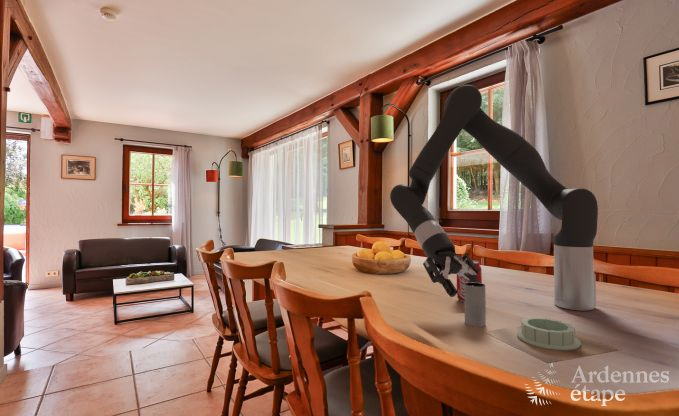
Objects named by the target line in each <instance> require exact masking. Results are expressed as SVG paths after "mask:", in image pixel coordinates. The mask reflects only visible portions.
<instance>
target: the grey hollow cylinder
mask: <svg viewBox="0 0 679 416" xmlns="http://www.w3.org/2000/svg"><path fill="white" fill-rule="evenodd" d="M486 299H487V298H486V284H485V283H483V282H482V283H477V282H467V283H465V303H464V324H466V325H468V326H470V327H476V328H477V327H479V328H481V327H485V326H486V324H487V323H486V320H487V319H486V318H487V317H486V315H487V311H486V309H487V307H486V306H487V305H486V302H487V301H486Z"/></svg>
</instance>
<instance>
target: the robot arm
mask: <svg viewBox="0 0 679 416" xmlns="http://www.w3.org/2000/svg"><path fill="white" fill-rule="evenodd" d="M480 91H481V90H479V89H478V88H477V86H474V85H471V84H463V85H460V86H458V87H456V88H454V89H453V91H451V92H450V94H449V95H448V96H447V97H446V100H445V101H444V103H443V104H444V105H443V110H444V112H443V116H442V118H441V120H440V121H439V123H438V125H437V127H436V128H435V131H434V132H433V134H431V136H430V137H429V139H428V141H427V142H426V143H425V144H424V146H423V147H422V148H421V150H420V152H419V154H418V155H417V157H416V158H415V160H414V162H413V164H412V165H411V168H410V169H409V171H408V177H409V178H410V179H411V183H410V185H407V184H396V185H394V186H393V188H392V189H391V191H390V194H389V199H390V202H391V204H392V206H393V208H394V209H395V210H396V212H397V213H398V214H399V215H400V216H401V217H402V218H403V219H404V221H405V222H406V223H407V224H408V226H409V228H410V229H411V232H412V233H413V235H414V236H415V239H416V241H417V243H418V244H419V246H420V248H421V250H422V251H423V252H424V255H425V256H426V259H425V260H424V262H422V266H423V267H424V269H425V270H426V272H427V275H428V277H429V278H430V280H431V282H432V283H433V284H436V283H439V284H440V285H441V286H442V287H443V289H444V290H445V292H446V293H447V294H448V295H449V297H450V298H453V297H456V296H457V287H455V285H454V284H453V282H452V280H451V279H450V278H449V275H457V274H458V275H459V276H463V277H465V278H466V279H468V280H469V282H477V283H481V282H480V281H479V280H478V278H477V277H476V275H477V274H478V273H479V272H480V270H479V269H478V268H477V266H476V265H475V264H474V262H473V261H472V260H473V259H471V257H470V256H469V255H468V254H467V253H464V254H463V255H462V256H459V255H458V254H457V252H456V246H455V244H454V243H453V241H452V240H451V238H450V237H449V236H448V234H447V233H446V231H445V230H444V228H443V227H442V226H441V225H440V223H438V221H437V220H436V219H435V217H434V216H433V214H432V213H431V211H430V210H429V209H427V208H426V207H425V206H423V204H424V203H425V200H426V197H427V194H428V192H429V189H430V184H431V182H432V180H433V178H434V177H435V176H436V174H437V172H438V171H439V168H440V167H441V165H442V163H443V161H444V160H445V159H446V156H447V155H448V152H449V151H450V149H451V148H452V146H453V144H454V143H455V140H457V138H458V136H459V135H460V134H461V132H462V131H464V132H466V133H467V134H468V135H470V136H471V137H472V138H473V139H474V140H476V142H478V144H479V145H481V147H482V148H483V149H485V151H486V152H487V153H489V155H490V156H491V157H492V158H493V159H494V160H495V161H496V162H497V163H498V164H500V165H501V166H502V167H503V168H504V169H505V170H506V171H507V172H508V173H509V174H511V175H512V176H513V177H514V178H515V179H517V181H518V182H519V183H521V184H522V185H523V186H524V187H525V188H527V189H528V190H529V192H530V193H532V195H534V196H535V197H536V198H537V200H539V202H540V203H541V204H542V205H543V207H544V208H545V209H546V210H547V211H548V212H549V213H550V214H551V216H553V217H554V218H556V219H557V220H559V221H560V220H561V227H560V230H559V231H558V232H557V233H555V234H554V235H553V287H554V288H553V289H554V290H553V291H554V292H553V293H554V294H553V297H554V302H553V304H554V305H555V306H557V307H558V308H562V309H567V310H572V311H585V312H586V311H592V310H593V311H594V309H595V308H597V285H596V283H597V279H596V276H597V275H596V273H595V272H594V240H595V238H596V236H597V232H598V214H599V208H598V206H599V205H598V201H597V197H596V196H595V194H594V193H593V192H592V191H591V190H589V189H587V188H582V187H577V188H576V187H575V188H568V187H566V186H564V185H563V184H561V182H560V181H558V180H557V179H556V178H554V177H553V176H552V174H551V173H550V172H549V171H548V168H547V167H546V165H545V162H544V160H543V158H542V155H541V154H540V153H539V151H538V150H537V149H536V148H535V147H534V146H533V145H532V144H531V143H530V142H529V141H527V140H526V139H525V137H523V136H522V135H520V134H519V133H518V132H517V131H516V132H515V131H514V130H513V129H511V128H509V127H507V126H505V125H503V124H501V123H500V122H497V121H495V120H494V119H493V118H491V117H490V116H489V115H488V114H487V113H486V112H485V111H484V110H483V109H482V108H481V107H482V104H483V97H482V93H481V92H480ZM461 266H462V267H463V269H462V270H461ZM471 268H473V270H474V271H473V270H471ZM460 270H461V271H460ZM465 272H468V273H469V275H468V274H466V273H465Z"/></svg>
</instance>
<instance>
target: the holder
mask: <svg viewBox="0 0 679 416" xmlns="http://www.w3.org/2000/svg"><path fill="white" fill-rule="evenodd" d="M520 323H521V325H520V326H521V329H519V330H518V331H517V337H518V338H519V339H520V340H521V341H523V342H524V343H527V344H529V345H532V346H535V347H539V348H543V349H548V350H555V351H573V350H577V349H579V348H580V346H581V343H580V340H579V339H577V338H576V337H575V333H576V328H575V327H574V326H573V325H571V324H570V323H568V322H566V321H562V320H558V319H554V318H547V317H525V318H523V319H522V320H521V322H520Z"/></svg>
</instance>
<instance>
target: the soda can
mask: <svg viewBox="0 0 679 416" xmlns="http://www.w3.org/2000/svg"><path fill="white" fill-rule="evenodd" d="M471 260H472V261H473V262H474V264H475V265H476V266H477V268H478V269H479V270H480V272H479V273H478V274H477V275H476V277H477V278H478V280H479V281H480V282H481V283H482V284H483V277H482V276H483V275H482V274H483V273H482V267H481V265H480V261H479V260H473V259H471ZM462 269H463V267H462V266H461V270H462ZM461 270H460V271H461ZM471 270H473V268H471ZM473 271H474V270H473ZM465 273H466V274H468V275H469V273H468V272H465ZM467 282H469V280H468V279H466V278H465V277H463V276H459V275H458V274H456V290H457V294H456V296H457V299H458V300H459V301H460V302H461V303H464V304H465V283H467Z"/></svg>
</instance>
